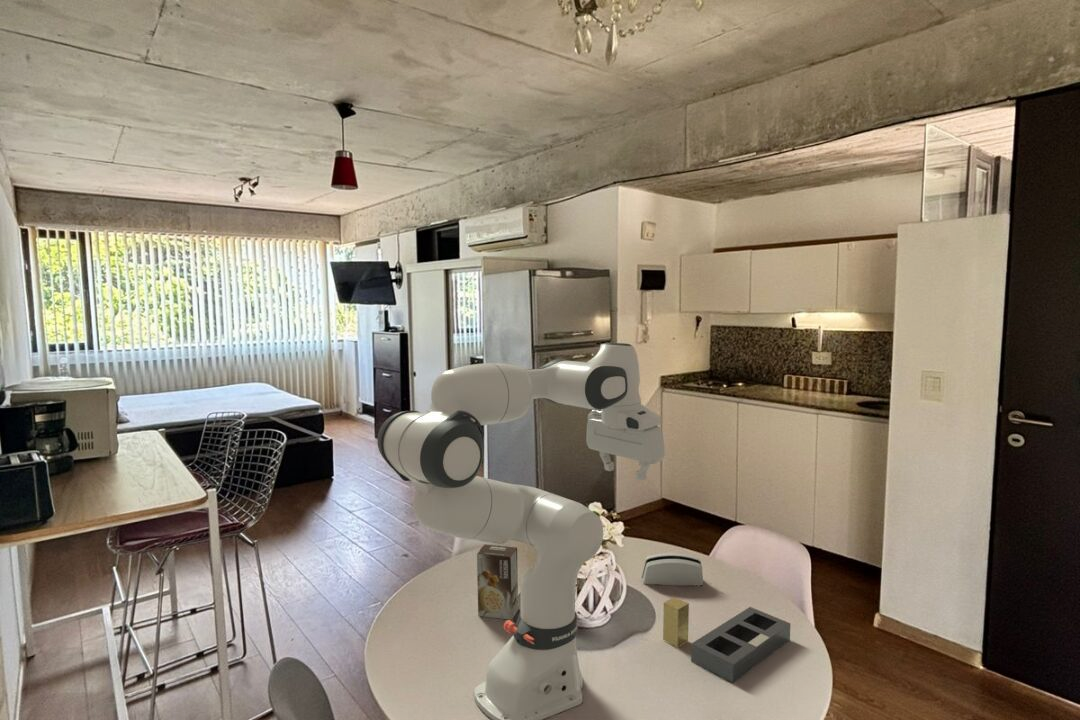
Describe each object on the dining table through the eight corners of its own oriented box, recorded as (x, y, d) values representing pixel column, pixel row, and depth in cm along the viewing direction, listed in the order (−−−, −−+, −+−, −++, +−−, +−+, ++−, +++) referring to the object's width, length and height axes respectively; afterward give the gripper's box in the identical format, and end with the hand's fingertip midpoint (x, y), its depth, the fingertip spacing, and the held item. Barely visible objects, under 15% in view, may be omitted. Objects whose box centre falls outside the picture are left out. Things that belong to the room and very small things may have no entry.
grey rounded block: (700, 577, 166) (703, 550, 162) (703, 590, 162) (706, 563, 158) (640, 575, 168) (642, 548, 163) (642, 588, 163) (643, 561, 159)
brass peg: (677, 647, 132) (678, 609, 131) (663, 640, 135) (663, 602, 134) (688, 641, 134) (688, 603, 134) (673, 634, 137) (674, 597, 137)
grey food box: (519, 608, 150) (519, 546, 148) (512, 620, 143) (511, 557, 142) (485, 603, 152) (484, 543, 150) (476, 616, 146) (475, 553, 144)
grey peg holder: (732, 683, 119) (733, 664, 119) (691, 661, 127) (691, 643, 126) (789, 640, 135) (790, 622, 134) (749, 622, 142) (750, 606, 142)
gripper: (578, 411, 135) (582, 468, 137) (648, 424, 120) (651, 488, 122) (597, 405, 139) (600, 461, 141) (667, 417, 124) (670, 480, 126)
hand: (624, 474), depth 132 cm, fingers open, 8 cm apart
